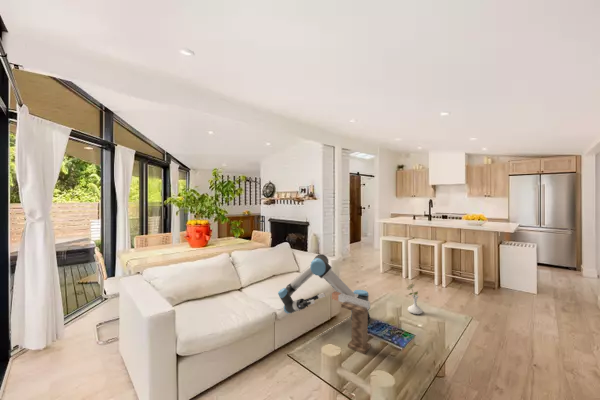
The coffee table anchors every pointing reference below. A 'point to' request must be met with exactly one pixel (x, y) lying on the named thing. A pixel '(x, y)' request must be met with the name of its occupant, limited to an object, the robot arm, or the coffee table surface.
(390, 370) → the coffee table surface
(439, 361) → the coffee table surface
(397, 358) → the coffee table surface
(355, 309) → the walnut stand
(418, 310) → the flower in vase
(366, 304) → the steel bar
